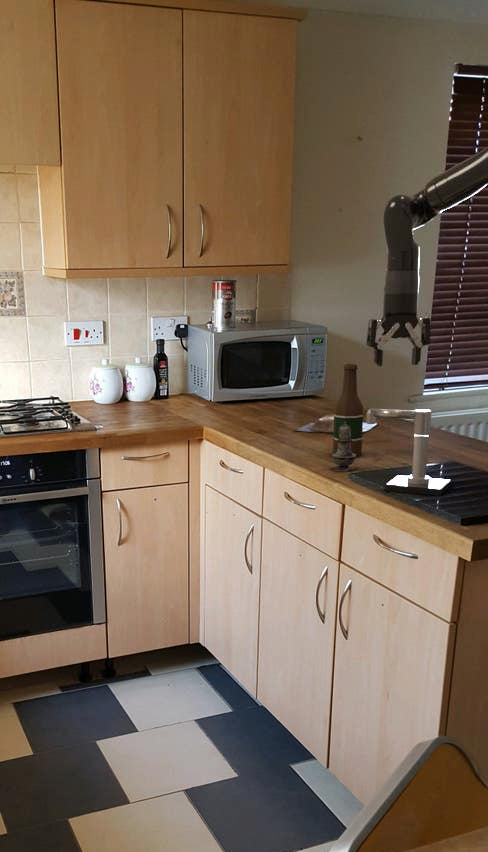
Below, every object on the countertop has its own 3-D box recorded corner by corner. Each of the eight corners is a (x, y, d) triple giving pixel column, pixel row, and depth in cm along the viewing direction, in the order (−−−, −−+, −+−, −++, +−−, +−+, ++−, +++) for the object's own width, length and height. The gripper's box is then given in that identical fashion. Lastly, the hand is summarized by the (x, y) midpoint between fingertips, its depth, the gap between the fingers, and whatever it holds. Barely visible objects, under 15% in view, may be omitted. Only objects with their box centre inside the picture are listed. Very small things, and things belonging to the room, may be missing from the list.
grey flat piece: (377, 424, 283) (378, 412, 281) (359, 434, 266) (360, 421, 265) (316, 421, 292) (316, 409, 291) (294, 431, 275) (295, 418, 274)
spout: (431, 433, 194) (433, 409, 193) (427, 436, 191) (429, 412, 190) (368, 429, 201) (369, 407, 199) (363, 432, 198) (364, 409, 196)
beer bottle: (364, 453, 238) (368, 363, 231) (358, 458, 232) (362, 365, 224) (336, 451, 241) (339, 362, 234) (329, 457, 235) (332, 365, 227)
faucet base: (450, 486, 199) (454, 433, 195) (439, 495, 191) (443, 440, 187) (397, 481, 204) (400, 430, 201) (385, 490, 196) (388, 437, 192)
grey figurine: (336, 466, 223) (337, 419, 219) (358, 467, 220) (360, 420, 217) (328, 470, 218) (329, 422, 215) (351, 472, 216) (353, 423, 212)
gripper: (376, 292, 192) (372, 368, 197) (438, 290, 194) (433, 365, 199) (364, 292, 199) (361, 365, 204) (424, 290, 201) (420, 362, 206)
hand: (396, 365), depth 202 cm, fingers open, 8 cm apart
